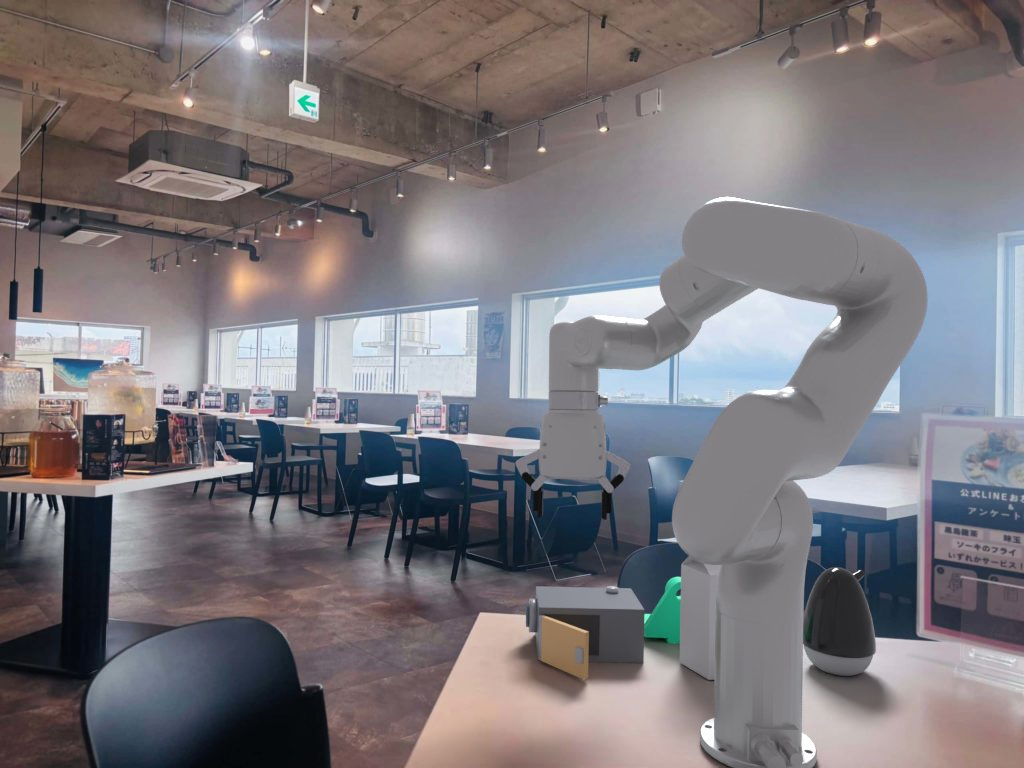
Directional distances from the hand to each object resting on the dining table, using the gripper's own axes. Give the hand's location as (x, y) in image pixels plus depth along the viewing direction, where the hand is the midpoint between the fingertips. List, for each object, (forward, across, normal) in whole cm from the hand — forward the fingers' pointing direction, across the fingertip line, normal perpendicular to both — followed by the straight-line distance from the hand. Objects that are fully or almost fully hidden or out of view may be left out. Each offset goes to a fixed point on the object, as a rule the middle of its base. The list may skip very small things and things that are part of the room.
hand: (572, 517), depth 106 cm
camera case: (+22, -2, -7) cm, 23 cm away
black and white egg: (+22, -40, -4) cm, 46 cm away
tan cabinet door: (+21, +1, +4) cm, 22 cm away
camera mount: (+22, -18, -16) cm, 32 cm away
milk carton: (+22, -21, -1) cm, 31 cm away
